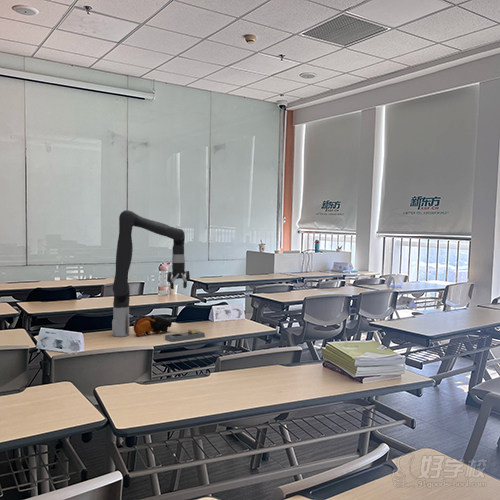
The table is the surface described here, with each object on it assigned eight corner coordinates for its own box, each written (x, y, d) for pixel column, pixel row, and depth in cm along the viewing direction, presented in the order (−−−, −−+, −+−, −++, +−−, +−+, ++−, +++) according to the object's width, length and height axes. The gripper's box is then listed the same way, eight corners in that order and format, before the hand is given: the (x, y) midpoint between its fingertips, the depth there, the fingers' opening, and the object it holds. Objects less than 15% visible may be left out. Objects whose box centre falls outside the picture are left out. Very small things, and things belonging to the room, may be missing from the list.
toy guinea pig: (166, 345, 303) (174, 321, 306) (134, 335, 290) (143, 311, 293) (160, 342, 309) (168, 319, 312) (128, 333, 296) (137, 309, 299)
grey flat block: (171, 342, 279) (171, 337, 279) (165, 339, 285) (165, 335, 285) (204, 337, 293) (204, 332, 293) (197, 334, 299) (197, 330, 299)
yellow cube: (191, 338, 289) (191, 330, 289) (188, 337, 293) (188, 329, 293) (197, 337, 292) (197, 329, 292) (194, 336, 295) (194, 328, 295)
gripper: (185, 261, 305) (185, 287, 305) (164, 262, 296) (165, 288, 297) (191, 261, 299) (191, 288, 299) (170, 262, 290) (171, 290, 291)
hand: (178, 288), depth 298 cm, fingers open, 8 cm apart
